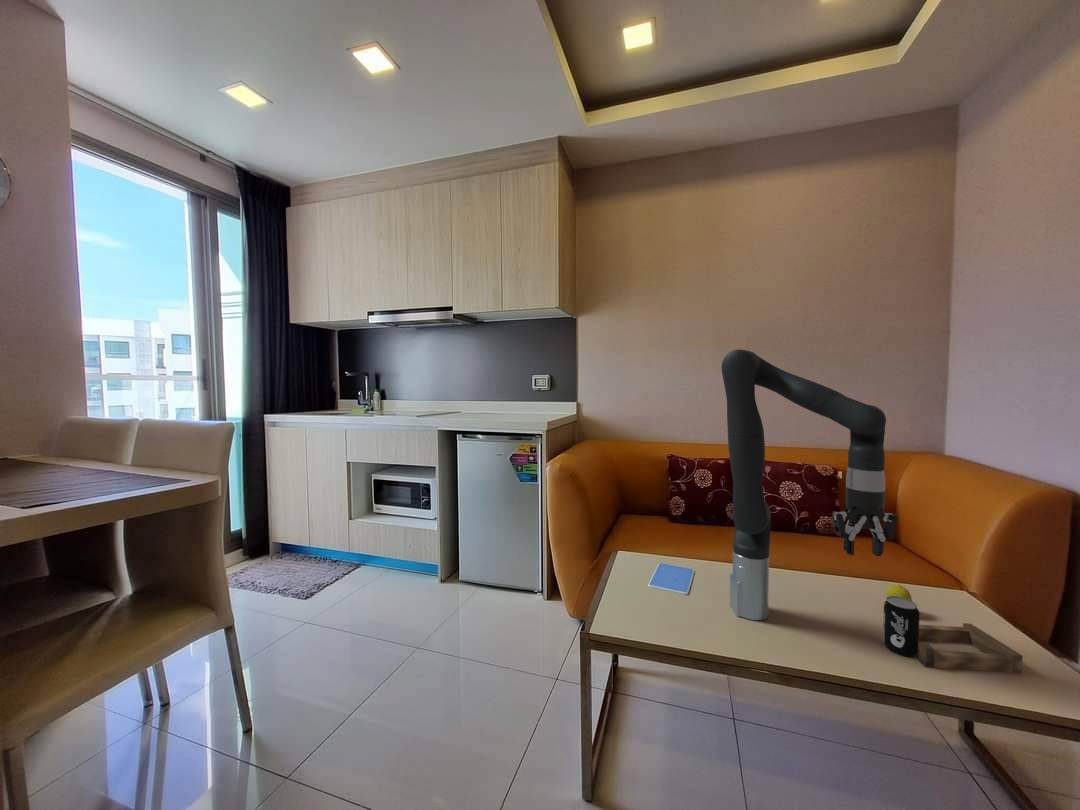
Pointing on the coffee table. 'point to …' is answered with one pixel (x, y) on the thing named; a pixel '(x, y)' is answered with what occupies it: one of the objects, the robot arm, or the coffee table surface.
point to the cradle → (990, 660)
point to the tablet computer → (672, 579)
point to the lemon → (898, 592)
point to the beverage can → (901, 626)
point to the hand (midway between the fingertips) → (863, 554)
